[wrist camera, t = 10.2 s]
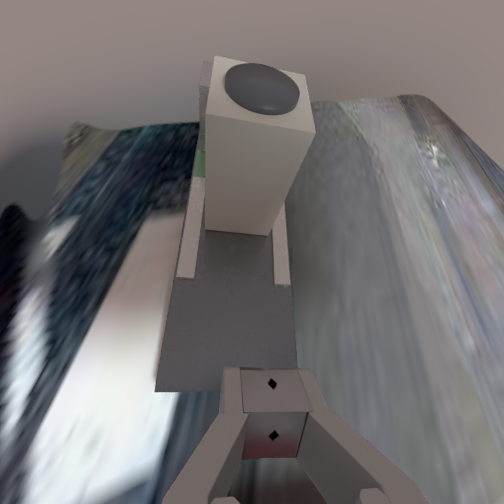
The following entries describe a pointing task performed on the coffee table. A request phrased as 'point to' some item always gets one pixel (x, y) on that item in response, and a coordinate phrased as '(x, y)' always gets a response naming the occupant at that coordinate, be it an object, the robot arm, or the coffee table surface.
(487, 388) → the coffee table surface
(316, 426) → the robot arm
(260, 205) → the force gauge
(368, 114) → the coffee table surface
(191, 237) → the gauge bed
